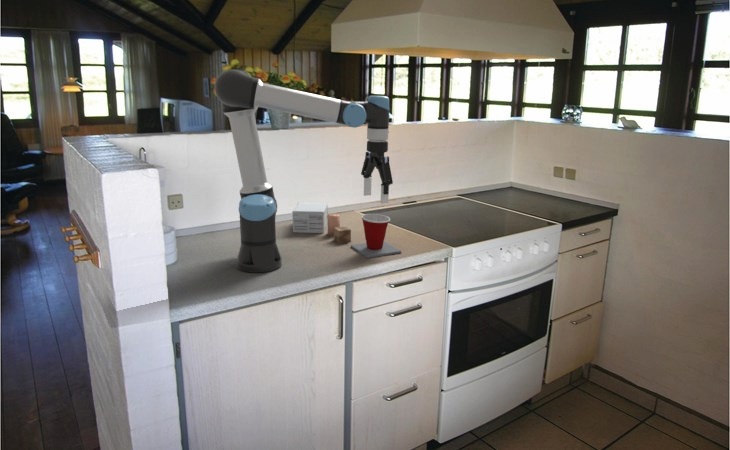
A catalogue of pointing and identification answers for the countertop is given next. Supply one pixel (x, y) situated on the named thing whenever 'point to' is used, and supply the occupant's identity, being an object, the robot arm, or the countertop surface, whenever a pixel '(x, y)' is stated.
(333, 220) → the pink cylinder
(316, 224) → the supplement box
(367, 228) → the plastic cup
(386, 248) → the mat
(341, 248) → the countertop surface
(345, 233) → the walnut block
